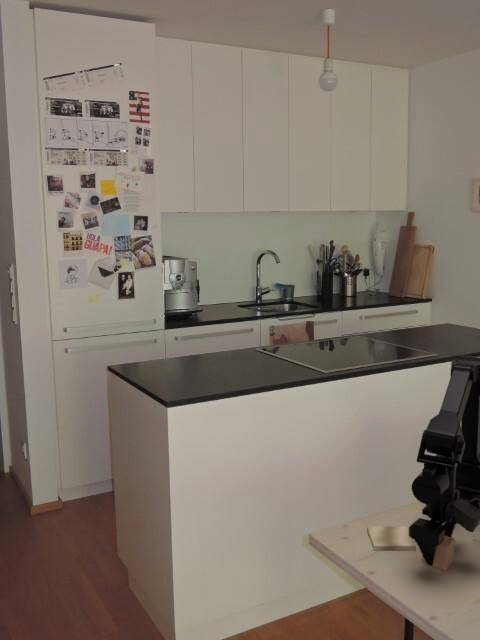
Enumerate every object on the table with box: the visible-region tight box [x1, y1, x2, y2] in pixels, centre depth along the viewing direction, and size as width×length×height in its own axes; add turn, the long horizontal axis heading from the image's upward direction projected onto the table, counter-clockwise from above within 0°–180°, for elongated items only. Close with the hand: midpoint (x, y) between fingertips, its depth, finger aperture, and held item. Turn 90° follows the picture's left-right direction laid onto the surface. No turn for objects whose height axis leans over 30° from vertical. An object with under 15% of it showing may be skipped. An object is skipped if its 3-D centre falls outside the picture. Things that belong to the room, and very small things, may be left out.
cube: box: [421, 535, 455, 571], centre depth 137 cm, size 5×5×5 cm
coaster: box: [366, 525, 417, 551], centre depth 146 cm, size 9×9×1 cm
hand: (437, 555), depth 137 cm, fingers open, 9 cm apart
